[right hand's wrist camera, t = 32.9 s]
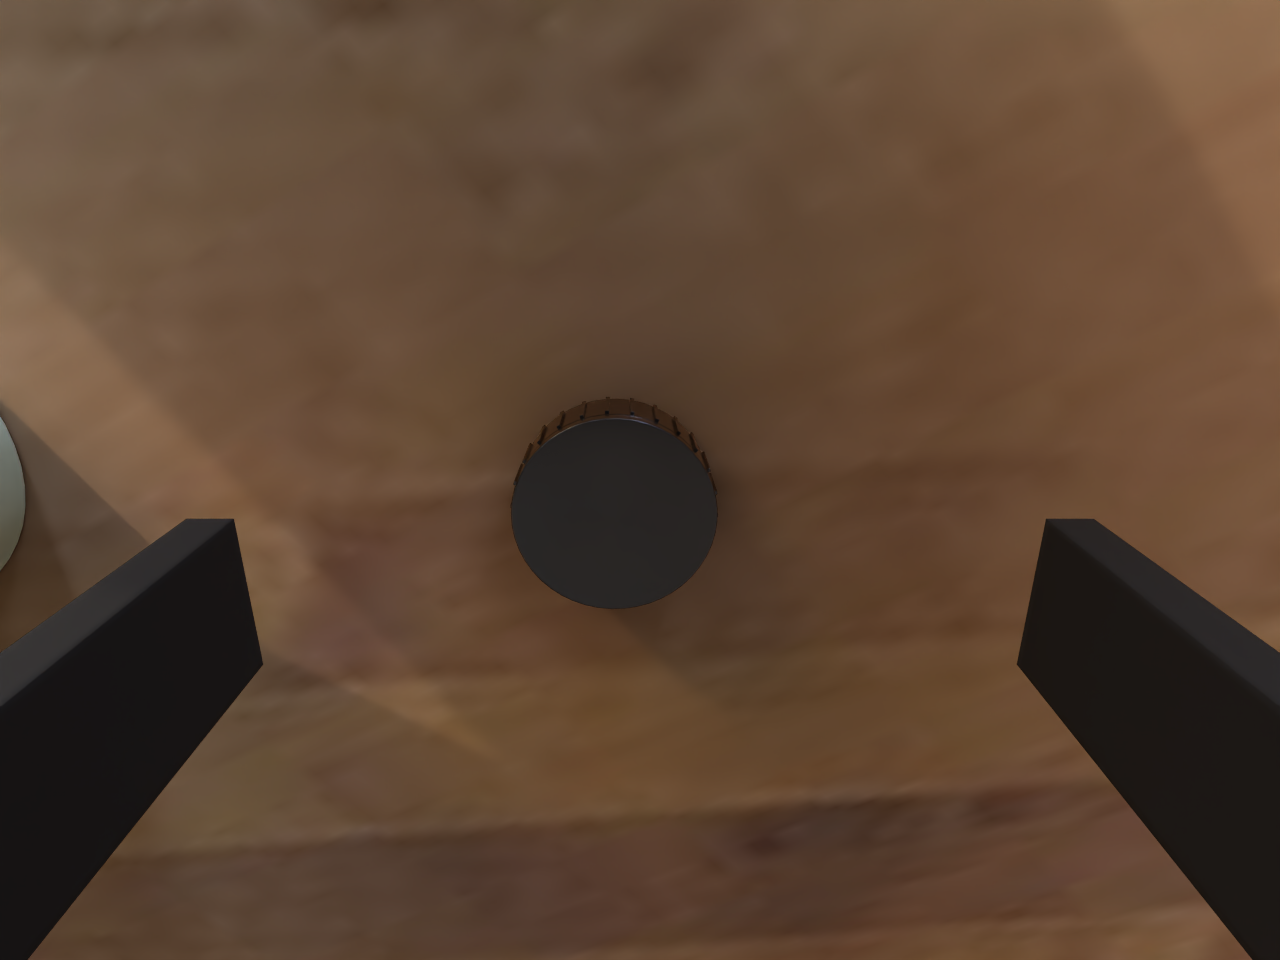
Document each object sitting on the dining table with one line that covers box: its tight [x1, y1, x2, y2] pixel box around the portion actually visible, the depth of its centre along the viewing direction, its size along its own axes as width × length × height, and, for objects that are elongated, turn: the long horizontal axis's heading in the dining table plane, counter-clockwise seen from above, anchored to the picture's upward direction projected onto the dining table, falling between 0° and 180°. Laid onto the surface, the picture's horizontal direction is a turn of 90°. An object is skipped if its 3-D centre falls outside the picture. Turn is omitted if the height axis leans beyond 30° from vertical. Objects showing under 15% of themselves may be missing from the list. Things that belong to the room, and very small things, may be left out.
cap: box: [511, 397, 718, 609], centre depth 18 cm, size 5×5×2 cm
